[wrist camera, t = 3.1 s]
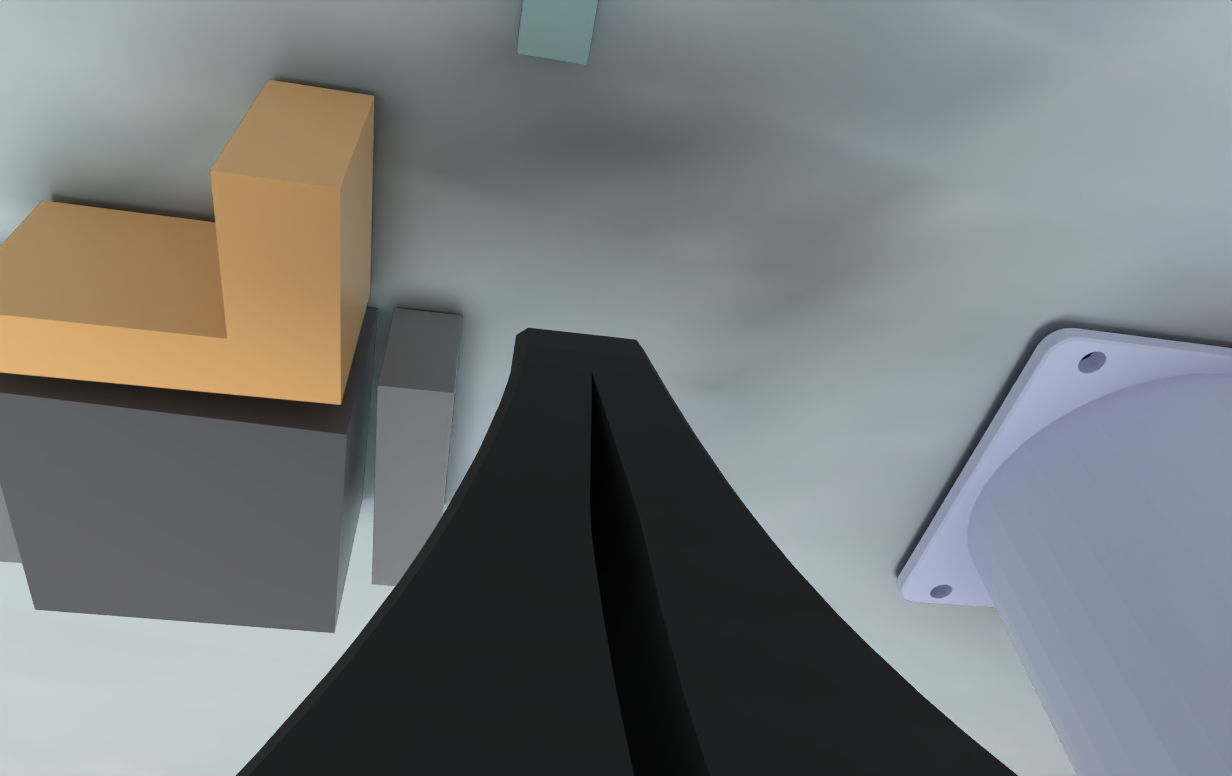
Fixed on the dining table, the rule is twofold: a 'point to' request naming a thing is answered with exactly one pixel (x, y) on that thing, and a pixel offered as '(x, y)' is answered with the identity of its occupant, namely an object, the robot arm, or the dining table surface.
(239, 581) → the plug block
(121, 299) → the orange l-shaped block
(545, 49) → the rails
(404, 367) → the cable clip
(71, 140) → the dining table surface
